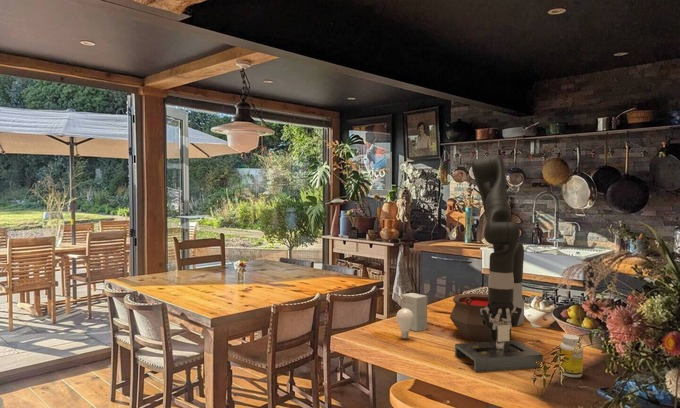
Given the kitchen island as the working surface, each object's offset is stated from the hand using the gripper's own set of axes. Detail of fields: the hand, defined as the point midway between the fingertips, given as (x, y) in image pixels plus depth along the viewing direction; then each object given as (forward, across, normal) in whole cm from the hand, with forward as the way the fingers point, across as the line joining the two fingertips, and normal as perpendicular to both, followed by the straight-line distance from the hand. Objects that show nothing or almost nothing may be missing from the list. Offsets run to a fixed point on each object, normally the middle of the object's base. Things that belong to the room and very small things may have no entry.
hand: (499, 340), depth 146 cm
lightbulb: (+7, +22, -27) cm, 35 cm away
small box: (+7, +14, -39) cm, 42 cm away
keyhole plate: (+7, +1, 0) cm, 7 cm away
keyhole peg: (+6, 0, 0) cm, 6 cm away
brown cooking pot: (+7, -7, -25) cm, 27 cm away
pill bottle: (+7, -15, +13) cm, 21 cm away
